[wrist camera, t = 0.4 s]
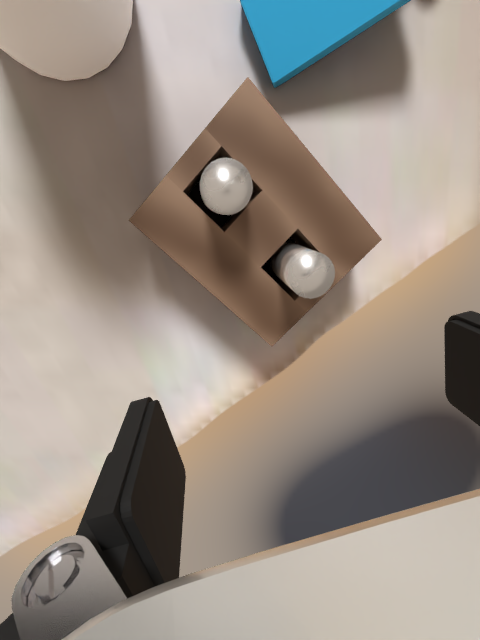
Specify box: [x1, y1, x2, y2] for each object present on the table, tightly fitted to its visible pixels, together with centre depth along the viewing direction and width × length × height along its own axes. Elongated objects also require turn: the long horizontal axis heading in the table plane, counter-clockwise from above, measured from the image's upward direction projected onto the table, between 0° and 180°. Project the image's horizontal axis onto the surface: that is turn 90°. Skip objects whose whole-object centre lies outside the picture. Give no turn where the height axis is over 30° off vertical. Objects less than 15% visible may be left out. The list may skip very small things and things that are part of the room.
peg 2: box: [271, 243, 335, 299], centre depth 27 cm, size 4×4×7 cm
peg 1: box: [200, 158, 253, 215], centre depth 25 cm, size 4×4×7 cm
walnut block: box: [129, 77, 382, 346], centre depth 30 cm, size 14×17×7 cm
